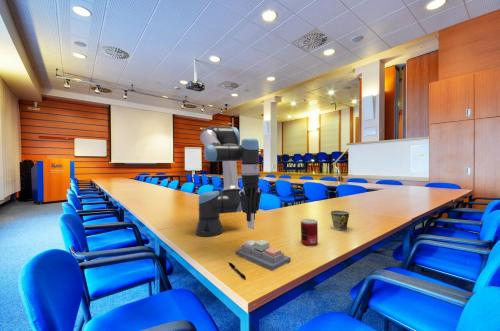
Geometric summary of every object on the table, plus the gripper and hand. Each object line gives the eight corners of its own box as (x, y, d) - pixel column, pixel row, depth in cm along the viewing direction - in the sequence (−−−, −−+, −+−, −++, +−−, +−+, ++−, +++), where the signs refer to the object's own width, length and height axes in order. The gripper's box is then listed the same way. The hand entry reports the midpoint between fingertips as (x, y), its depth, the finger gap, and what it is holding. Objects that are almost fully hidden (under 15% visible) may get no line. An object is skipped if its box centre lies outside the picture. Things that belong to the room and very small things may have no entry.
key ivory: (244, 248, 94) (244, 242, 94) (251, 245, 97) (251, 239, 97) (251, 250, 91) (251, 245, 91) (258, 248, 94) (258, 242, 94)
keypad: (235, 254, 94) (235, 245, 94) (253, 247, 101) (253, 239, 101) (272, 270, 78) (271, 260, 78) (290, 261, 86) (290, 252, 86)
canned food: (319, 242, 106) (319, 220, 106) (314, 247, 99) (314, 223, 100) (304, 239, 110) (304, 218, 110) (298, 244, 104) (298, 221, 104)
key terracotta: (264, 256, 85) (264, 250, 85) (272, 253, 88) (272, 247, 88) (273, 259, 82) (273, 253, 82) (281, 256, 85) (281, 250, 85)
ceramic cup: (328, 226, 133) (328, 210, 133) (345, 226, 132) (344, 210, 132) (336, 233, 120) (336, 215, 120) (354, 233, 119) (354, 215, 119)
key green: (254, 248, 90) (253, 242, 90) (261, 245, 93) (261, 239, 93) (261, 251, 86) (261, 245, 86) (269, 248, 89) (269, 242, 90)
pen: (247, 281, 73) (248, 277, 73) (243, 280, 72) (244, 277, 72) (231, 264, 85) (232, 261, 85) (227, 264, 84) (228, 261, 84)
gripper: (244, 175, 87) (245, 233, 88) (266, 174, 96) (267, 226, 96) (233, 174, 93) (233, 229, 93) (255, 173, 101) (255, 223, 102)
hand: (250, 228), depth 95 cm, fingers closed
